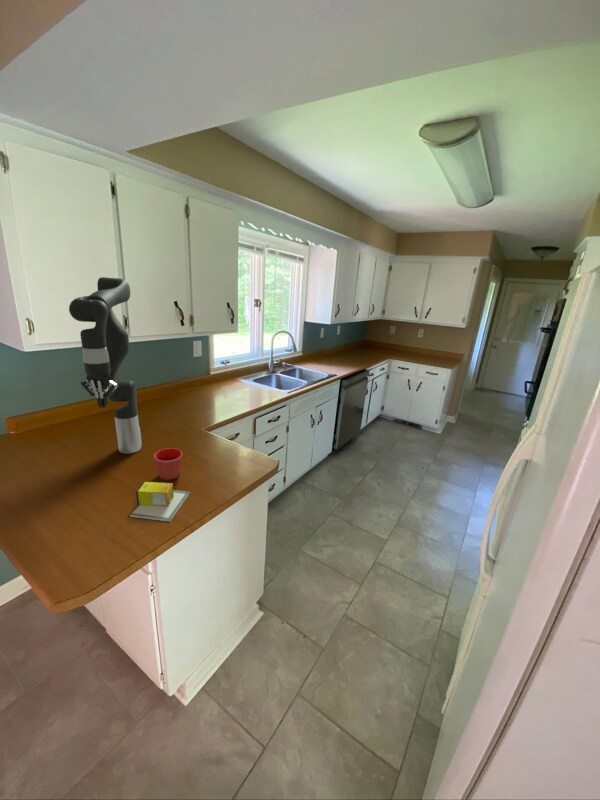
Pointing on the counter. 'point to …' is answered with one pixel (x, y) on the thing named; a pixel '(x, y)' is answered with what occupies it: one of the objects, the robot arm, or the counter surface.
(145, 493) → the supplement box
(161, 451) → the flower pot
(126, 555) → the counter surface
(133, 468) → the counter surface
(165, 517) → the mat
